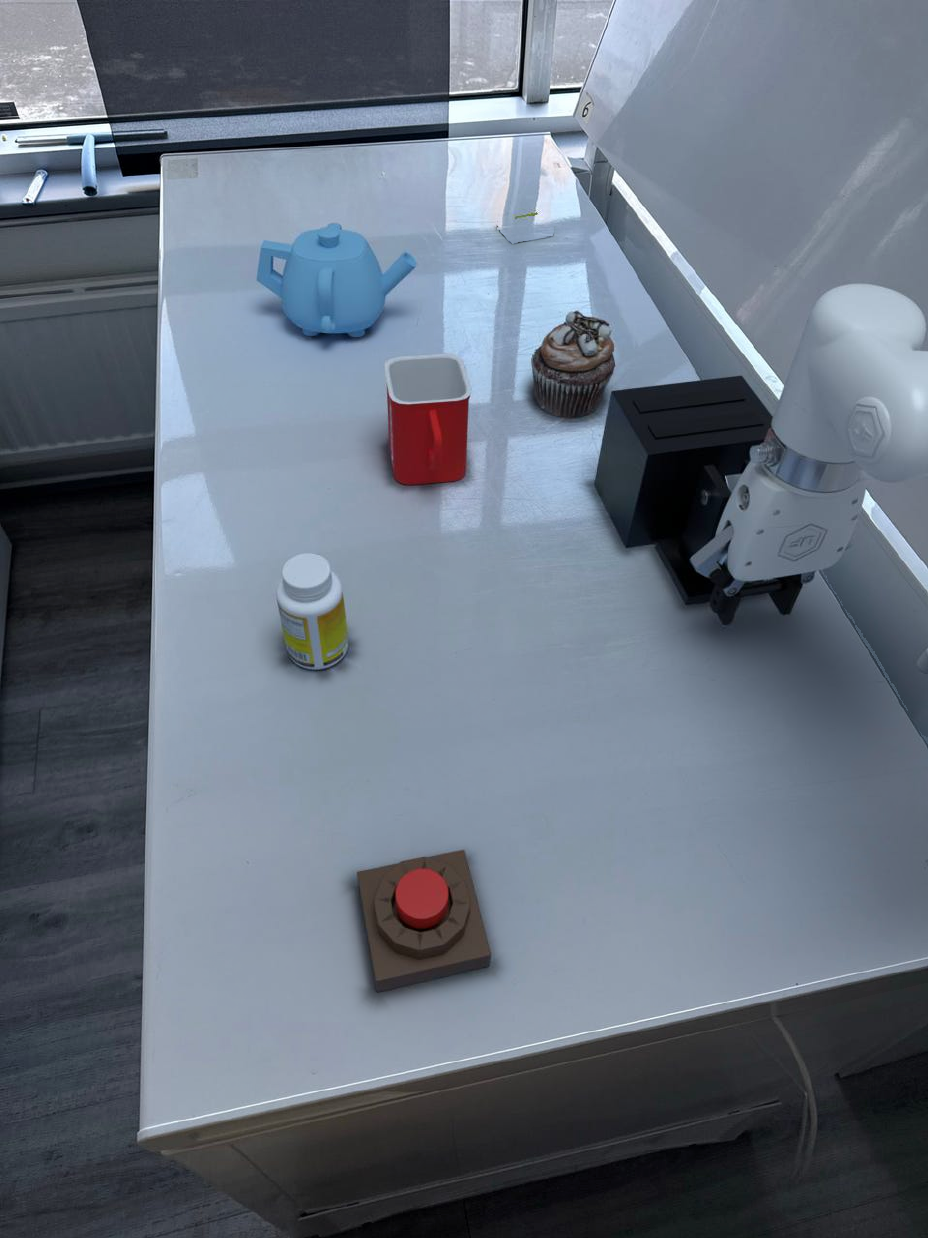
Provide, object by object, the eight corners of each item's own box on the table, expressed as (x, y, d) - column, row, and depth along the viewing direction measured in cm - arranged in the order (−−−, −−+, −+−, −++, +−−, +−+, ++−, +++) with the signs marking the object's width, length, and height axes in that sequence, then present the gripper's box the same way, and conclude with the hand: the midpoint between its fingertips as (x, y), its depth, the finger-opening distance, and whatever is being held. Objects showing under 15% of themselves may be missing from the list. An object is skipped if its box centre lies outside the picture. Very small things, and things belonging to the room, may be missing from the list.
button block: (489, 966, 63) (492, 945, 60) (376, 992, 61) (374, 972, 58) (463, 862, 68) (464, 838, 65) (358, 884, 66) (355, 860, 63)
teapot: (254, 353, 111) (239, 262, 102) (271, 284, 122) (259, 196, 113) (415, 357, 111) (414, 267, 103) (419, 288, 122) (418, 201, 113)
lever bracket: (762, 592, 87) (800, 501, 78) (685, 605, 86) (716, 513, 77) (727, 536, 92) (760, 444, 83) (655, 547, 91) (680, 455, 82)
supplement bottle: (349, 623, 83) (341, 544, 75) (348, 671, 79) (339, 594, 72) (288, 625, 82) (274, 546, 75) (284, 673, 79) (269, 595, 71)
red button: (453, 922, 61) (453, 912, 60) (401, 934, 60) (400, 924, 59) (441, 874, 63) (442, 863, 62) (391, 884, 63) (390, 874, 61)
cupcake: (541, 367, 111) (549, 292, 103) (616, 386, 109) (631, 310, 101) (516, 410, 105) (523, 334, 97) (595, 430, 103) (609, 354, 95)
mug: (385, 440, 101) (382, 357, 93) (458, 434, 102) (460, 352, 94) (398, 512, 93) (395, 429, 85) (476, 505, 94) (480, 422, 86)
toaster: (752, 528, 93) (788, 434, 84) (625, 548, 91) (648, 452, 81) (713, 467, 99) (742, 373, 90) (593, 484, 97) (611, 389, 88)
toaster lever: (778, 593, 81) (791, 587, 79) (727, 601, 81) (739, 596, 78) (749, 479, 83) (761, 470, 81) (699, 486, 82) (710, 477, 80)
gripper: (732, 498, 64) (678, 655, 78) (940, 468, 67) (853, 624, 81) (691, 434, 69) (647, 593, 83) (887, 409, 72) (813, 566, 86)
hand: (749, 607), depth 82 cm, fingers closed on toaster lever, 5 cm apart
